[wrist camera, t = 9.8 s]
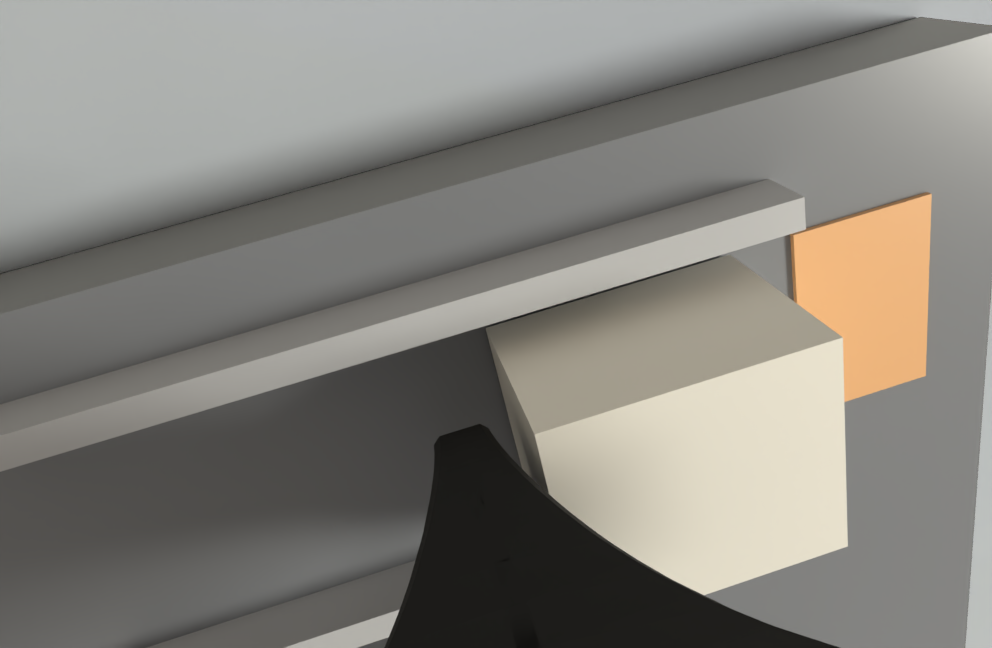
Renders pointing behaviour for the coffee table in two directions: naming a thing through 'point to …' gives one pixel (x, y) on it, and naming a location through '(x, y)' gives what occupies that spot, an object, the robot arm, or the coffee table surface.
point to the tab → (685, 421)
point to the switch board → (469, 361)
